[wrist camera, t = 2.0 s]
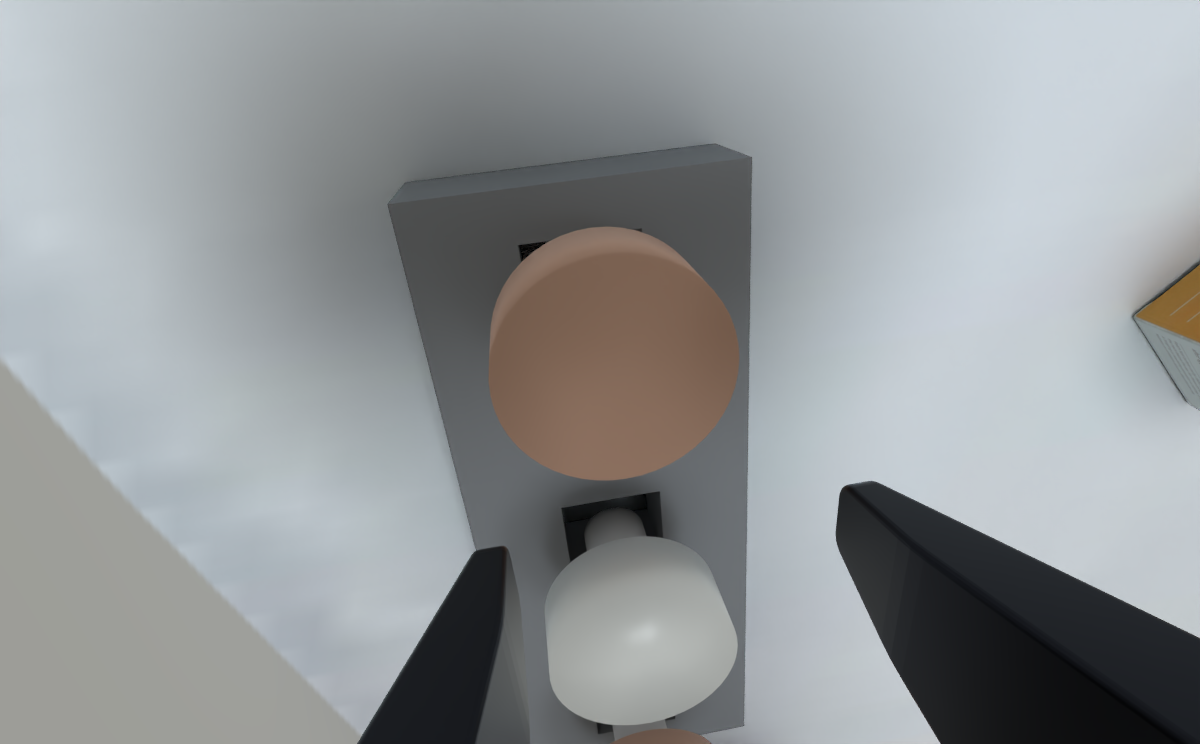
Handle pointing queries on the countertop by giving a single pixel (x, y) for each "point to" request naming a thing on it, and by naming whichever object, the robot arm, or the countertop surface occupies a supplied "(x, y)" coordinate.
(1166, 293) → the small box
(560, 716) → the knob strip
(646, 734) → the knob
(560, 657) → the knob middle
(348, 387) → the countertop surface
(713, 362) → the knob
